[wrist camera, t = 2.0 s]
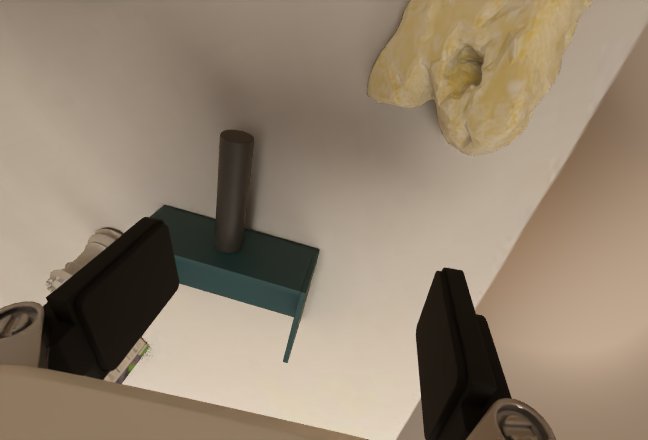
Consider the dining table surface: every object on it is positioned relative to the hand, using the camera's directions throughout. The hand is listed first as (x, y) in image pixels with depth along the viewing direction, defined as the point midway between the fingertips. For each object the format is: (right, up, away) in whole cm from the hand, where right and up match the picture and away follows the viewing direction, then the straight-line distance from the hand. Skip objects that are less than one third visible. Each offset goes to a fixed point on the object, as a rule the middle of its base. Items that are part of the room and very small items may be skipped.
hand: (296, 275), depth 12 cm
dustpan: (-8, +1, +23) cm, 24 cm away
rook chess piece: (-24, -1, +28) cm, 36 cm away
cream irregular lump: (+11, +17, +10) cm, 22 cm away
